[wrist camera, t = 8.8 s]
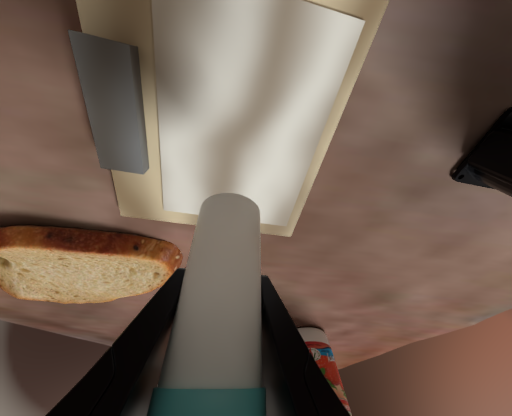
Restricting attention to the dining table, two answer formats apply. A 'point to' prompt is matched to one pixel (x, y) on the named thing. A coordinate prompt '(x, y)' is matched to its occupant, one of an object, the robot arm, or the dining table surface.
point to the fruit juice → (324, 359)
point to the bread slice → (82, 264)
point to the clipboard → (218, 98)
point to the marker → (217, 319)
